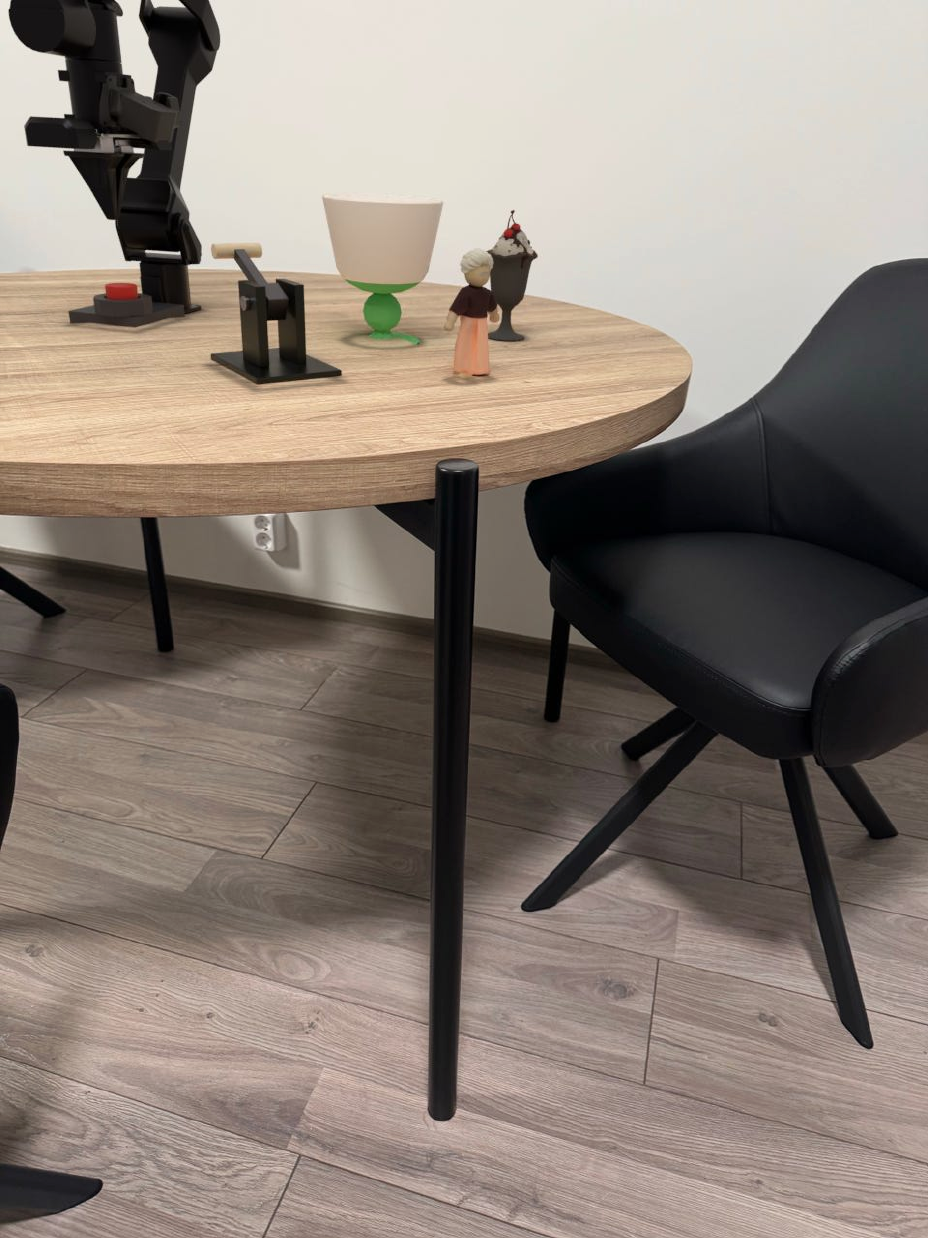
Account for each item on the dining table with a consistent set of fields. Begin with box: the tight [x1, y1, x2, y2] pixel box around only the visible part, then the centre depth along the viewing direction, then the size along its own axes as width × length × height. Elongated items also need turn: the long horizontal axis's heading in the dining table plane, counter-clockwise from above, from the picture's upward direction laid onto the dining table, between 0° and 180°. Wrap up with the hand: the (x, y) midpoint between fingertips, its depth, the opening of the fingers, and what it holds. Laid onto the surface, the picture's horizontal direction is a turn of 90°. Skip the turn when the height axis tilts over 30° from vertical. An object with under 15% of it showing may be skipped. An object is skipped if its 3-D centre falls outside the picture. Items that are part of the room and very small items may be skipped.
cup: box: [321, 192, 444, 345], centre depth 106 cm, size 14×14×16 cm
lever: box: [210, 242, 289, 322], centre depth 92 cm, size 11×5×2 cm, turn 34°
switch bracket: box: [210, 278, 343, 386], centre depth 91 cm, size 12×9×9 cm
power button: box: [104, 282, 139, 300], centre depth 109 cm, size 4×4×2 cm
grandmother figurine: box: [443, 247, 501, 379], centre depth 92 cm, size 8×4×13 cm, turn 148°
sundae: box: [485, 209, 539, 342], centre depth 112 cm, size 7×7×15 cm
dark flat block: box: [67, 292, 186, 328], centre depth 112 cm, size 12×9×4 cm
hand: (112, 219), depth 105 cm, fingers closed
